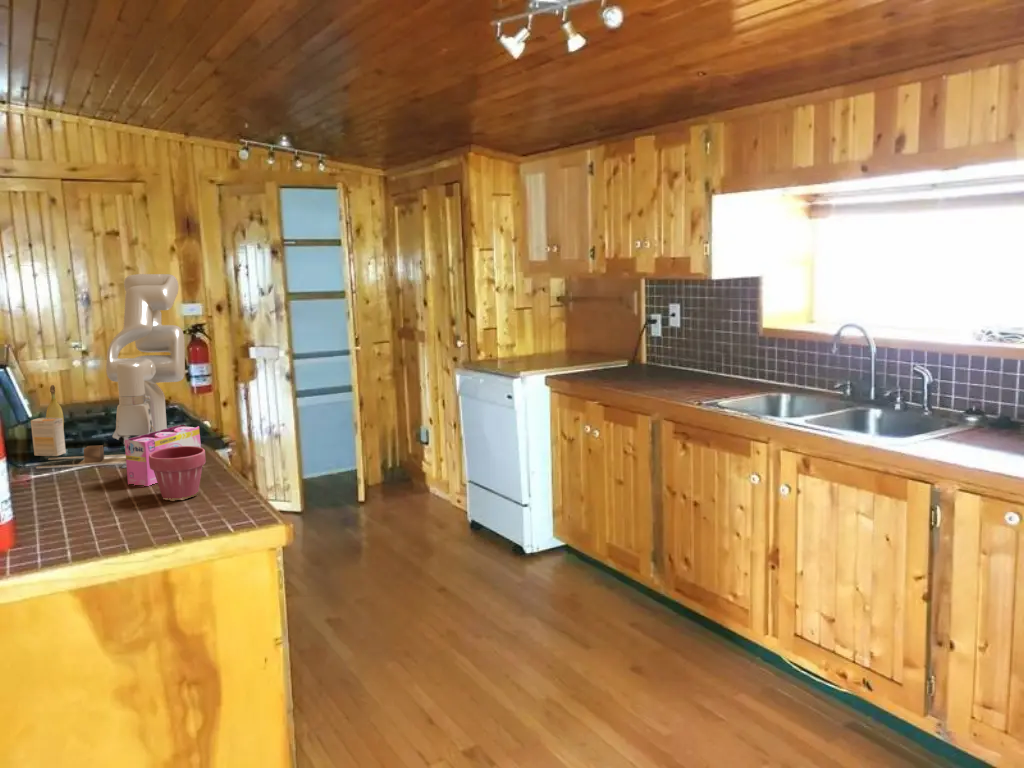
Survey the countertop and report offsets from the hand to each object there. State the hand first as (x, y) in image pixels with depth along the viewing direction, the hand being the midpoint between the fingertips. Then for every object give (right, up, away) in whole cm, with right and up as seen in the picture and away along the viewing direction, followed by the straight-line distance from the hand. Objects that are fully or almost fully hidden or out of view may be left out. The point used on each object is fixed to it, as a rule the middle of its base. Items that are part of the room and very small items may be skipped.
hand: (136, 455), depth 255 cm
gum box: (+16, -5, -15) cm, 23 cm away
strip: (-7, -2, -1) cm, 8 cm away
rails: (-12, -3, -2) cm, 13 cm away
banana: (-41, +1, +24) cm, 47 cm away
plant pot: (+29, -8, -36) cm, 47 cm away
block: (-12, -1, -3) cm, 13 cm away
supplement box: (-32, -1, +7) cm, 32 cm away
